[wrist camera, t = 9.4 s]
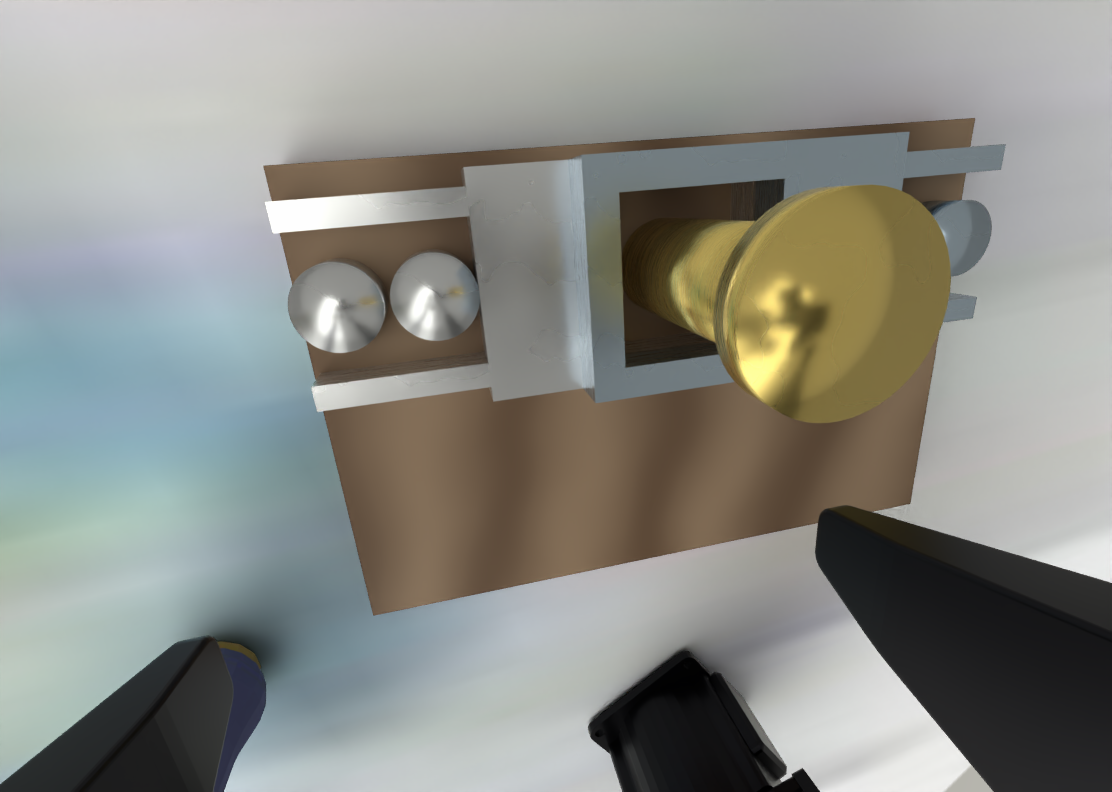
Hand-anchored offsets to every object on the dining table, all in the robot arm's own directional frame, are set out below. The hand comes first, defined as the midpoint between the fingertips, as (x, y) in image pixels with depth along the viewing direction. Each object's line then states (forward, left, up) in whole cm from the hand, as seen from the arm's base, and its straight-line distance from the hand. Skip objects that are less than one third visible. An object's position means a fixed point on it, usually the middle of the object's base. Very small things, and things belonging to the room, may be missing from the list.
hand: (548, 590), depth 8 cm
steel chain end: (+4, +1, -12) cm, 12 cm away
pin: (+7, -1, -12) cm, 14 cm away
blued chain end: (+11, -3, -11) cm, 16 cm away
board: (+5, -5, -13) cm, 15 cm away
